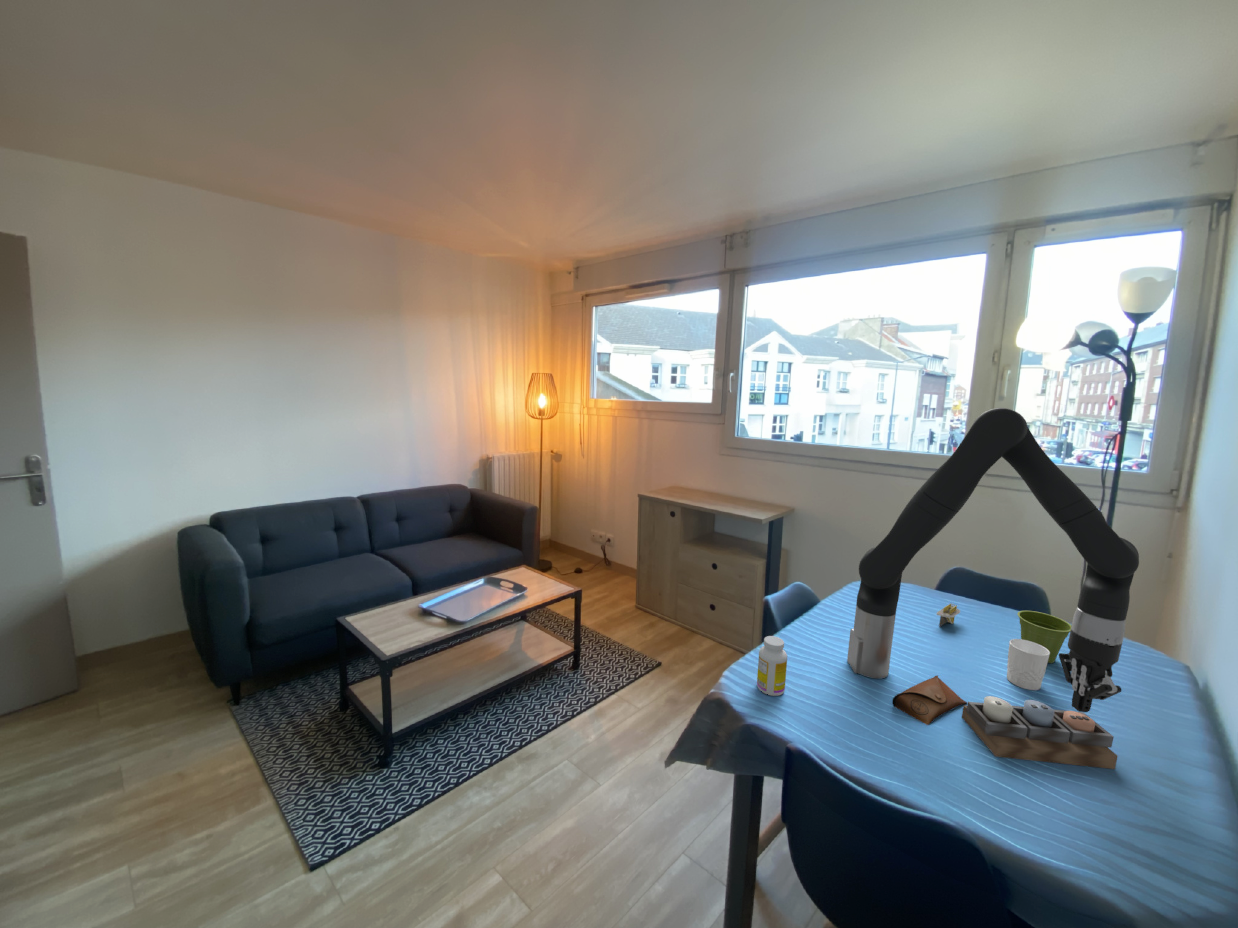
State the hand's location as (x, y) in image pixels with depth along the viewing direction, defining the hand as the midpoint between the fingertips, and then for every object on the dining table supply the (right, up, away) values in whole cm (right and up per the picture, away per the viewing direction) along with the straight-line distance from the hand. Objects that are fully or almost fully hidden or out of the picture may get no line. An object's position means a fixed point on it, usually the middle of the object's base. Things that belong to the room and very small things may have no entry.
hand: (1079, 709), depth 101 cm
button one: (-16, -3, +2) cm, 16 cm away
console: (-8, -8, +2) cm, 11 cm away
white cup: (+8, -5, +23) cm, 25 cm away
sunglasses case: (-23, -6, +14) cm, 27 cm away
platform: (+9, -1, +54) cm, 54 cm away
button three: (0, -5, +1) cm, 5 cm away
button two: (-8, -3, +1) cm, 9 cm away
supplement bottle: (-59, -4, +18) cm, 62 cm away
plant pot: (+22, -4, +36) cm, 42 cm away
